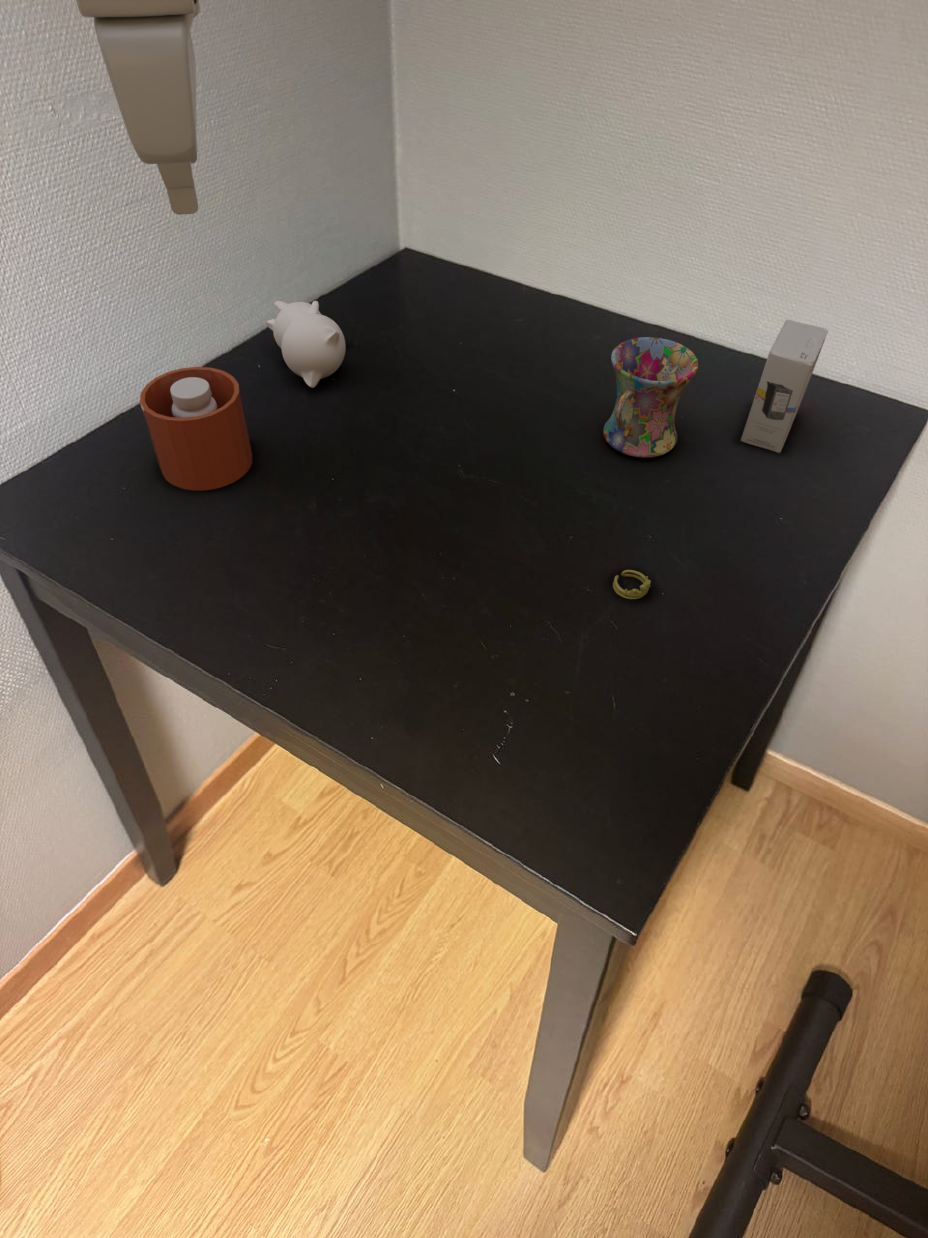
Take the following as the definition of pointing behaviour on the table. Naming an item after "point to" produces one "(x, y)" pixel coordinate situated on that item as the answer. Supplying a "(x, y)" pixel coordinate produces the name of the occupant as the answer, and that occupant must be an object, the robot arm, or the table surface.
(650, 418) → the mug
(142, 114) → the robot arm
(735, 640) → the table surface
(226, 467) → the cup
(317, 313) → the cat figurine
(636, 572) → the ring
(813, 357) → the ink box
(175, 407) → the pill bottle
